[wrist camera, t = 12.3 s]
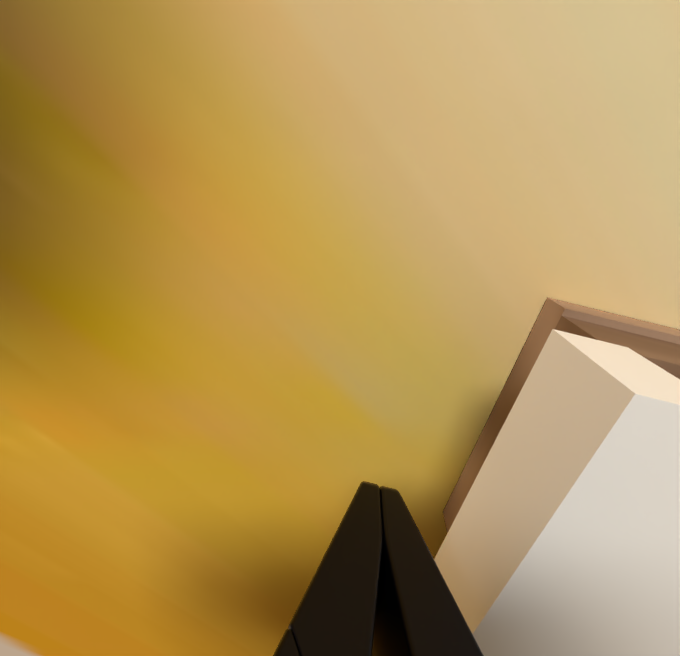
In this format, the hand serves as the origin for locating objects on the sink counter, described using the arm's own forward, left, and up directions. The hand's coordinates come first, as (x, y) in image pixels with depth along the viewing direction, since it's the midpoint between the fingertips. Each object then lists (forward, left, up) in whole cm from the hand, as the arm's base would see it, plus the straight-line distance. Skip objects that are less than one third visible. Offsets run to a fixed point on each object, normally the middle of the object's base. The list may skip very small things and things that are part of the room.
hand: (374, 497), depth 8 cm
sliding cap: (0, -5, -3) cm, 6 cm away
